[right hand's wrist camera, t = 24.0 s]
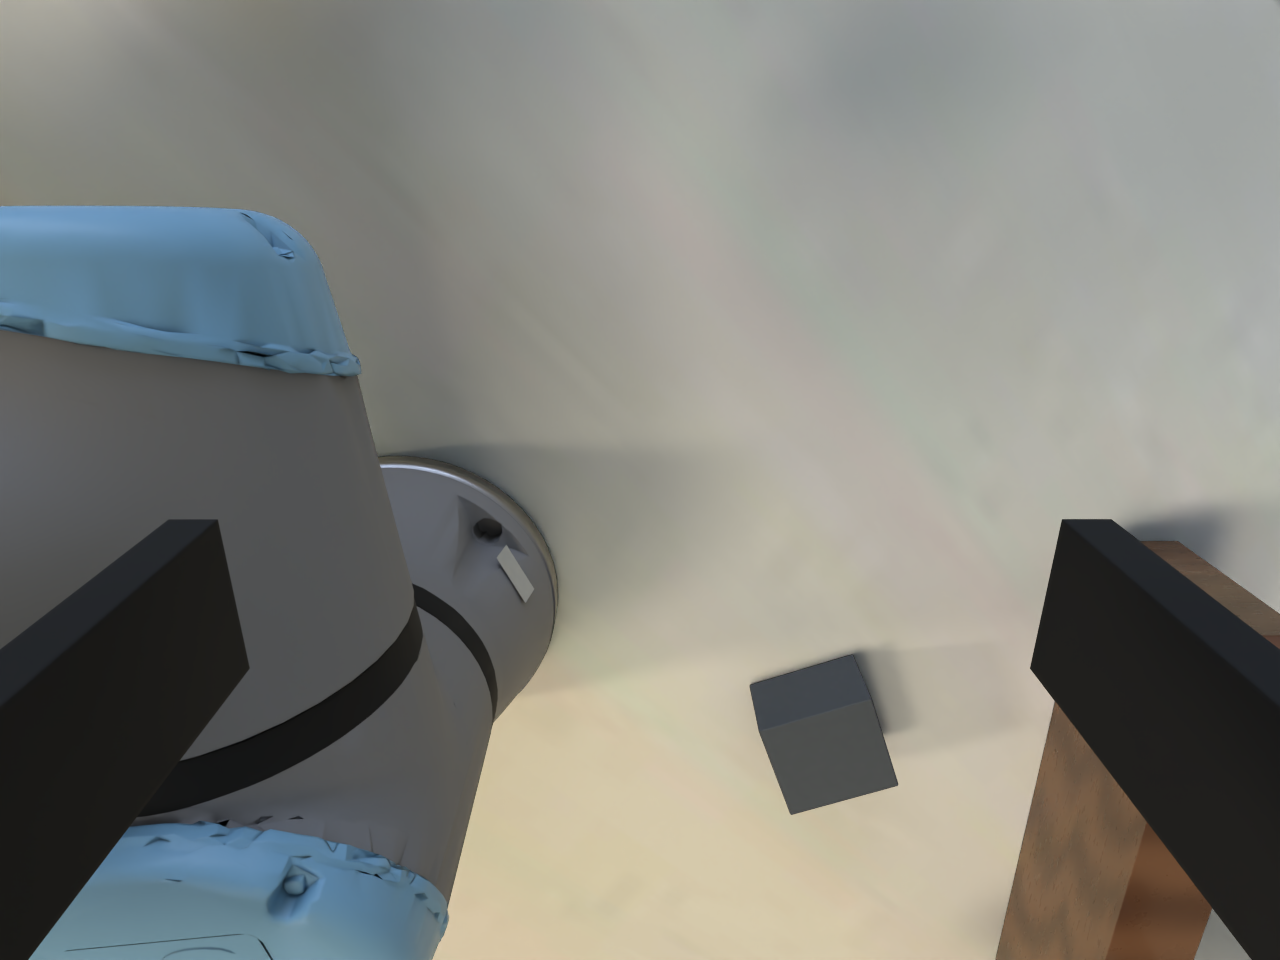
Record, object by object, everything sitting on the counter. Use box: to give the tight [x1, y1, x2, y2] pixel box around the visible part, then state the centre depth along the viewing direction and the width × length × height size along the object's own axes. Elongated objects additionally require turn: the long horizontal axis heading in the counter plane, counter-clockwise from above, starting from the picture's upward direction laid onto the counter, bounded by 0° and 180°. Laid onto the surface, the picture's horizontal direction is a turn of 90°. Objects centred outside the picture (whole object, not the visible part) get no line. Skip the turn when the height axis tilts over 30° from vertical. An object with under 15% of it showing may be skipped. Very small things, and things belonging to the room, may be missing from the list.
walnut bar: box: [996, 541, 1280, 960], centre depth 44 cm, size 34×4×9 cm, turn 0°
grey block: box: [750, 655, 898, 815], centre depth 44 cm, size 6×6×4 cm
